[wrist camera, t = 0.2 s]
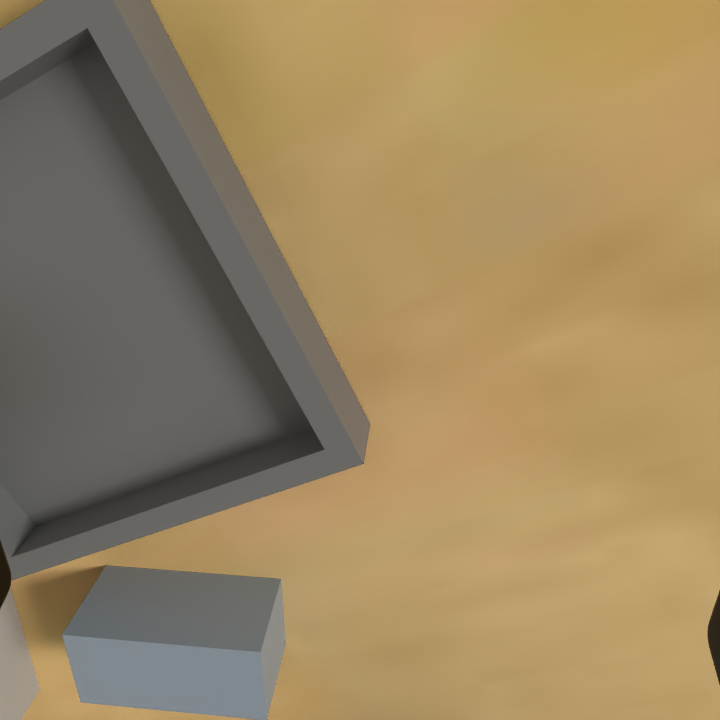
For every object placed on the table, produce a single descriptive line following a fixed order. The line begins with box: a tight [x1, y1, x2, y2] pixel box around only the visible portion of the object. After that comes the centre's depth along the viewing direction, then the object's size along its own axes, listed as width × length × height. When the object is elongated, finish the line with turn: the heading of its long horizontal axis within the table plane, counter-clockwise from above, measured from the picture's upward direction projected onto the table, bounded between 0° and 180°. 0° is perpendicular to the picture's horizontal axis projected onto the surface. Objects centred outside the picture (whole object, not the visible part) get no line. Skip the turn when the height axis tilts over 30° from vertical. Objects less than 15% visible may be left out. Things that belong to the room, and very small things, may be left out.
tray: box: [0, 0, 370, 580], centre depth 22 cm, size 16×16×3 cm
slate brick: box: [62, 565, 285, 720], centre depth 28 cm, size 8×4×4 cm, turn 90°
